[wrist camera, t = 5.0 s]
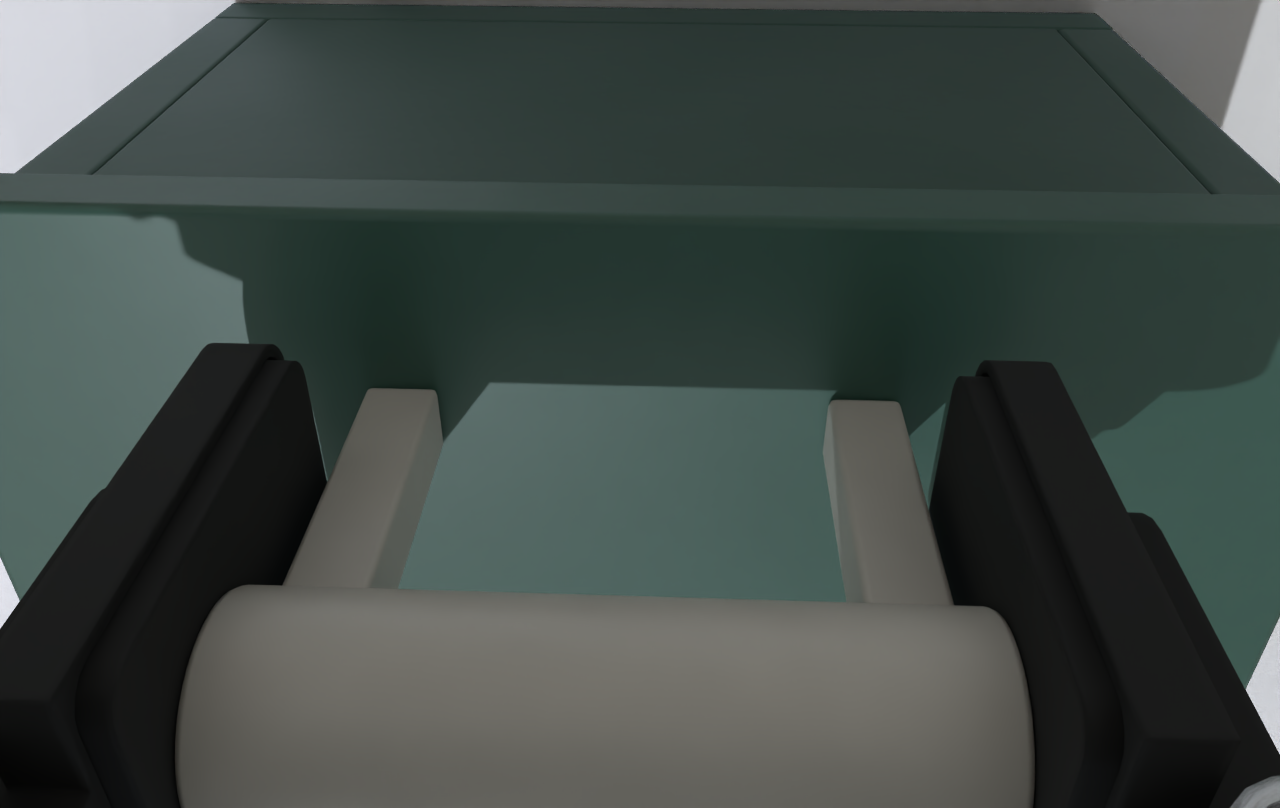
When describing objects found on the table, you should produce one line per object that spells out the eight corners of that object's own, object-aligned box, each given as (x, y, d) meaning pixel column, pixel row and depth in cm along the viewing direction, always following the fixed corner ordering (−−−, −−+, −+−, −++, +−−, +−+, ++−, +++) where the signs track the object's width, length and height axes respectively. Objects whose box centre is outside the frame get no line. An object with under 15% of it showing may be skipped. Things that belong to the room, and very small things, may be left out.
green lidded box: (232, 1, 18) (-74, 238, 11) (1097, 12, 18) (1375, 266, 11) (386, 757, 30) (286, 1122, 22) (919, 776, 29) (995, 1154, 22)
